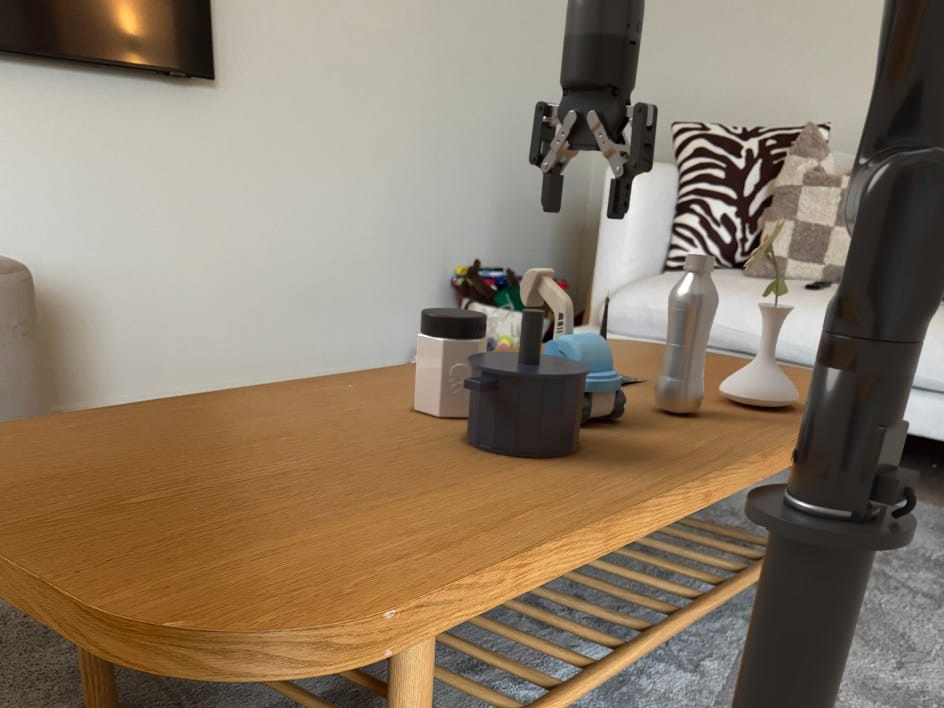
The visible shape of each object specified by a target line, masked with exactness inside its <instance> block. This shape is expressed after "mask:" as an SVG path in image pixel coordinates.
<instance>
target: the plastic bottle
mask: <svg viewBox="0 0 944 708" xmlns="http://www.w3.org/2000/svg"><path fill="white" fill-rule="evenodd" d="M684 261H685V262H684V264H683V268H682V269H683V270H684V274H683V275H682V276H681V278H680V279H679V280H678V281H677V282H676V283H675V285H673V287H671V290H670V292H669V294H668V298H667V328H666V329H667V330H666V342H665V349H664V354H663V358H662V362H661V367H660V371H659V374H658V377H657V380H656V383H655V387H654V390H653V391H654V396H653V397H654V402H655V405H656V407H657V408H658V409H661V410H663V411H666V412H668V413H671V414H677V415H680V414H690V413H696V412H697V411H698V410H699V409H700V407H701V406H702V404H703V400H704V397H705V379H704V377H705V366H706V355H707V350H708V343H709V340H710V336H711V332H712V329H713V324H714V320H715V317H716V314H717V310H718V307H719V304H720V299H719V292H718V290H717V287H716V283H714V281H713V278H712V273H714V272H715V262H716V256H714V255H708V254H697V253H687V254H686V256H685V260H684Z"/></svg>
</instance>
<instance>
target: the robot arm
mask: <svg viewBox="0 0 944 708" xmlns="http://www.w3.org/2000/svg"><path fill="white" fill-rule="evenodd" d="M645 8H646V0H567V4H566V11H565V12H566V13H565V21H564V22H565V23H564V31H563V32H564V33H563V41H562V43H563V44H562V52H561V53H562V55H561V63H560V64H561V65H560V75H559V85H560V87H561V90H562V95H561V99H560V102H559V104H557V103H554V102H548V101H542V100H539V101H537V102H536V103H535V107H534V115H533V123H532V129H531V137H530V146H529V153H528V163H529V165H531V166H536V167H537V168H539V169H540V171H541V172H542V181H541V182H542V183H541V195H540V203H541V207H542V211H543V212H544V213H551V214H558V213H560V211H561V208H562V198H563V188H564V180H565V175H564V174H562V173H563V172H564V170H565V169H566V168H567V166H568V164H569V163H570V162H571V160H572V159H574V158H575V157H576V156H577V155H578V154H579V153H580V152H591V151H593V152H601V154H602V156H603V157H604V158H605V159H606V160H607V162H608V164H609V167H610V169H611V172H612V174H613V176H614V178H612V177H611V178H610V184H609V189H608V190H609V191H608V200H607V207H606V208H607V209H606V218H607V220H608V219H609V220H619V221H620V220H624V218H625V216H626V215H627V214H628V212H629V209H630V203H631V195H632V190H633V189H632V187H633V182H634V180H635V178H636V177H638V176H639V175H642V174H644V173H646V174H647V173H651V171H652V170H653V168H654V157H655V147H656V137H657V136H656V135H657V126H658V114H659V108H658V106H657V105H656V104H653V103H649V102H642V101H637V102H636V103H635V104H632V99H631V96H632V92H633V91H634V90H635V88H636V82H637V75H638V74H637V73H638V66H639V58H640V51H641V50H640V49H641V43H642V35H643V27H644V18H645V10H646V9H645ZM878 36H879V37H878V46H877V54H876V63H875V64H876V65H875V73H874V81H873V84H872V85H873V86H872V91H871V95H870V100H869V103H868V108H867V112H866V115H865V120H864V123H863V127H862V131H861V135H860V138H859V142H858V146H857V150H856V154H855V157H854V160H853V164H852V167H851V171H850V174H849V178H848V182H847V185H846V188H845V192H844V197H843V201H842V202H843V203H842V218H843V224H844V227H845V230H846V232H847V234H848V237H849V238H850V241H849V244H848V250H847V254H846V258H845V261H844V266H843V270H842V273H841V277H840V279H839V283H838V286H837V288H836V290H835V292H834V294H833V296H832V297H831V298H830V300H829V301H828V303H827V305H826V309H825V314H824V318H823V323H822V327H821V328H822V329H821V332H820V336H819V337H820V338H819V342H818V346H817V350H816V355H815V361H814V364H813V369H812V373H811V377H810V382H809V386H808V391H807V395H806V400H805V404H804V409H803V413H802V419H801V422H800V426H799V430H798V435H797V440H796V443H795V444H796V445H795V446H794V448H793V450H792V452H791V453H792V454H791V457H790V462H789V463H791V468H790V471H789V478H788V479H787V488H786V490H785V494H784V498H783V501H784V503H785V504H786V505H788V506H789V507H791V508H793V509H795V510H797V511H799V512H802V513H805V514H808V515H812V516H815V517H820V518H824V519H830V520H837V521H847V522H852V523H856V524H864V523H866V522H868V521H871V520H873V519H876V518H878V517H880V516H882V515H884V514H885V513H886V510H887V506H888V505H890V506H894V505H898V504H901V503H903V502H905V501H906V503H905V504H904V505H902V506H900V507H901V508H899V509H896V510H895V511H893V512H891V515H892V517H893V518H894V519H898V518H899V517H902V516H904V515H906V514H908V513H912V512H913V510H914V509H915V508H916V506H917V501H918V500H917V496H916V490H917V486H918V483H919V480H920V475H921V471H919V470H915V469H910V468H906V467H902V466H900V465H899V464H900V462H901V458H902V454H903V451H904V446H905V443H906V440H907V436H908V432H909V428H910V422H909V421H908V420H906V419H904V418H905V415H906V410H907V407H908V402H909V399H910V396H911V391H912V389H913V384H914V382H915V377H916V374H917V373H916V372H917V370H918V365H919V362H920V358H921V355H922V351H923V347H924V344H925V342H924V341H925V340H926V336H927V333H928V329H929V326H930V324H931V321H932V320H933V318H934V317H935V316H936V313H937V312H938V310H939V308H940V306H941V304H942V302H943V298H944V0H883V6H882V14H881V20H880V28H879V35H878ZM559 124H560V128H559V130H558V131H557V126H558V125H559ZM628 124H629V126H630V127H631V134H630V142H629V140H628V138H627V134H626V132H625V131H624V130H625V129H626V127H627V126H628Z"/></svg>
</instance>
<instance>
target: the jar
mask: <svg viewBox="0 0 944 708" xmlns="http://www.w3.org/2000/svg"><path fill="white" fill-rule="evenodd" d="M419 327H420V330H419V331H420V332H418V333H417V339H416V362H415V378H414V381H415V383H414V401H413V402H414V404H413V409H414V411H417V412H420V413H423V414H426V415H430V416H433V417H435V418H440V419H441V418H442V419H443V418H447V419H448V418H449V419H450V418H455V419H456V418H459V419H460V418H463V419H465V418H467V419H468V411H469V397H470V389H466V388H464V379H465V378H471V368H472V367H471V366H469V365H468V363H467V358H468V357H469V356H470V355H473V354H477V353H484V352H488V350H487V349H488V335H487V328H488V314H486V313H485V312H481V311H477V310H472V309H464V308H455V307H453V308H452V307H427V308H424V309H422V310H421V311H420V326H419Z"/></svg>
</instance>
